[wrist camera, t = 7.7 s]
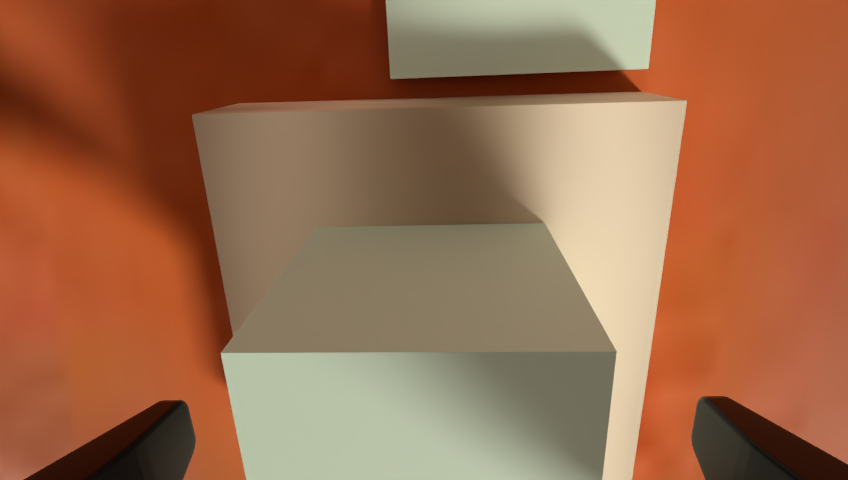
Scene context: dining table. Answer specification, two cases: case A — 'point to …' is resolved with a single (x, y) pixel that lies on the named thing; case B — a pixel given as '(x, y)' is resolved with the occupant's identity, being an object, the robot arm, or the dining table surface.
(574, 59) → the swatch
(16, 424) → the dining table surface
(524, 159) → the base block
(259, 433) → the green cube
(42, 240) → the dining table surface
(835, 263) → the dining table surface
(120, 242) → the dining table surface
